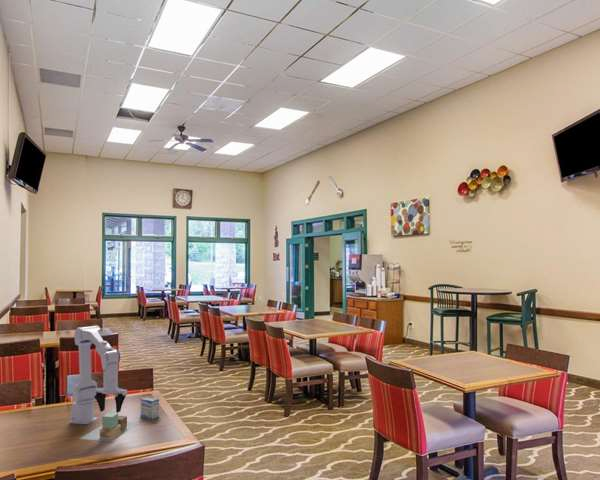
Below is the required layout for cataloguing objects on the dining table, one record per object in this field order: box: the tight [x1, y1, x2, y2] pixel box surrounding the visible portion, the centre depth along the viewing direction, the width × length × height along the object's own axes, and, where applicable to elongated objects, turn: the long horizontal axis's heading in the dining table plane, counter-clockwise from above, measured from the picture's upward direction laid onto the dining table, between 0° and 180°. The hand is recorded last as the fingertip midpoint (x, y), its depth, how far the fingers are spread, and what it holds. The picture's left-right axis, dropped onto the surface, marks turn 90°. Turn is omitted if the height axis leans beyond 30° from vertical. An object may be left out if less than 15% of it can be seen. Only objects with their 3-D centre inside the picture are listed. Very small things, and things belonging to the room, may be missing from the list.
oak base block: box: [100, 424, 121, 438], centre depth 197 cm, size 6×6×4 cm
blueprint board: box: [79, 420, 140, 442], centre depth 203 cm, size 15×22×1 cm
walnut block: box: [118, 415, 128, 431], centre depth 204 cm, size 4×4×5 cm
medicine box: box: [140, 396, 160, 420], centre depth 220 cm, size 8×4×9 cm, turn 62°
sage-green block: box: [101, 412, 119, 429], centre depth 197 cm, size 4×4×5 cm
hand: (110, 411), depth 197 cm, fingers open, 7 cm apart
